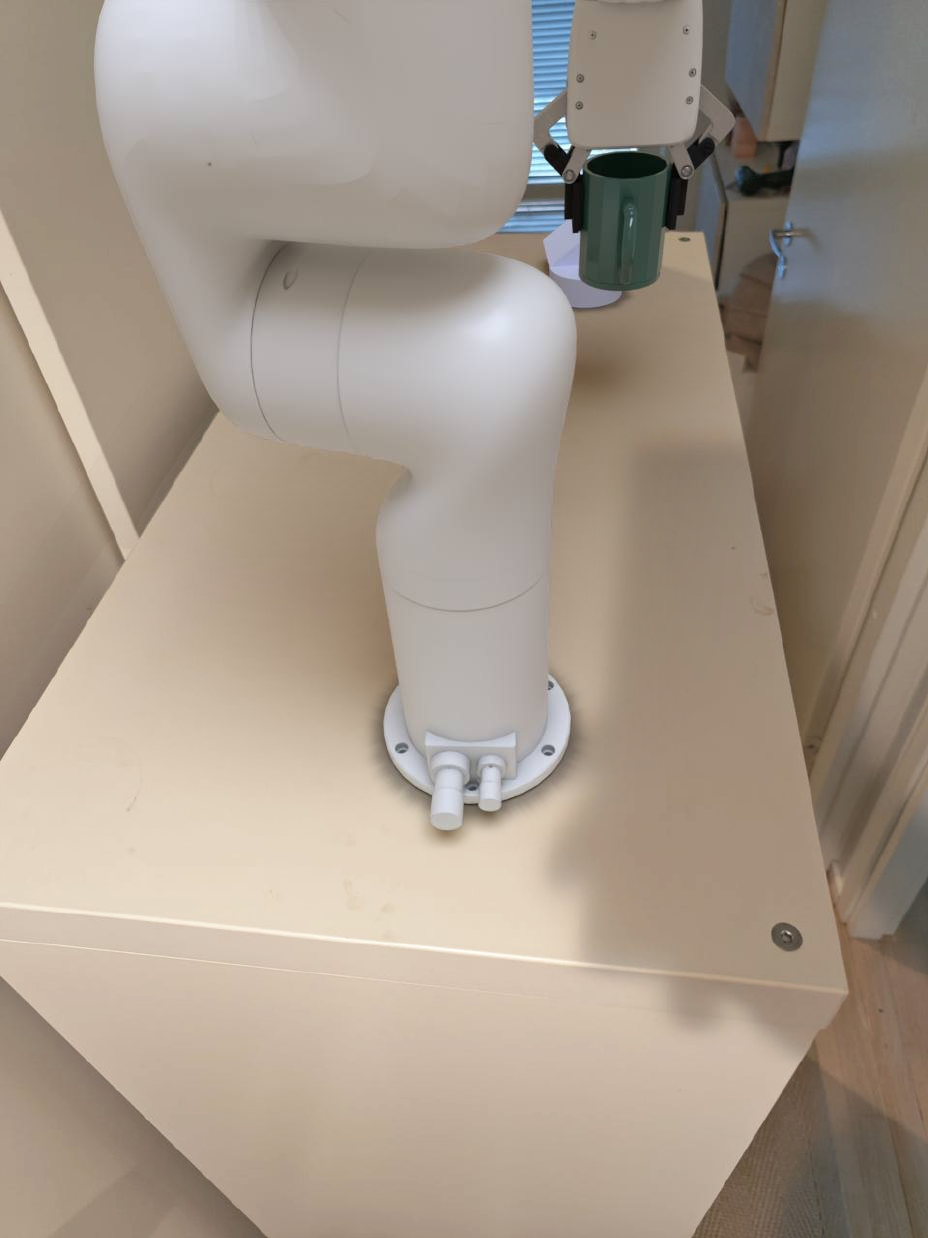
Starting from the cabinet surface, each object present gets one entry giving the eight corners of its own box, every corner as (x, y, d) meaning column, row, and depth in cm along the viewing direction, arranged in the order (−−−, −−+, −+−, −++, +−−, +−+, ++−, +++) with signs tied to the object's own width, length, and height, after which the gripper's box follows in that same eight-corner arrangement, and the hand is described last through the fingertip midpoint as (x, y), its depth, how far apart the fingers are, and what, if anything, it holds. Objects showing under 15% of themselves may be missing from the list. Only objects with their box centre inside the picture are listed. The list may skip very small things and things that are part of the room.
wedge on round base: (542, 266, 111) (552, 309, 102) (543, 212, 106) (553, 253, 97) (611, 261, 111) (627, 305, 102) (614, 207, 106) (632, 248, 97)
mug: (577, 258, 78) (580, 152, 72) (655, 255, 78) (666, 148, 72) (581, 308, 71) (585, 194, 65) (667, 305, 71) (681, 191, 64)
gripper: (756, -48, 62) (719, 206, 75) (519, -34, 64) (521, 213, 76) (777, -31, 57) (732, 239, 69) (517, -15, 58) (520, 246, 71)
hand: (622, 224), depth 73 cm, fingers closed on mug, 7 cm apart
